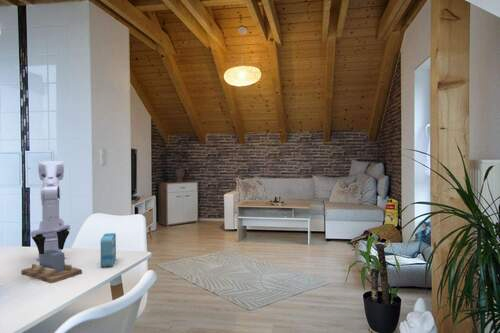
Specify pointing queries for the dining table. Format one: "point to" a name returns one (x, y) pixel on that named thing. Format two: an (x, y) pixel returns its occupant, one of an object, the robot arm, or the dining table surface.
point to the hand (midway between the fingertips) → (51, 251)
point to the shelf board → (50, 273)
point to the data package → (108, 249)
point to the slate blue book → (52, 260)
